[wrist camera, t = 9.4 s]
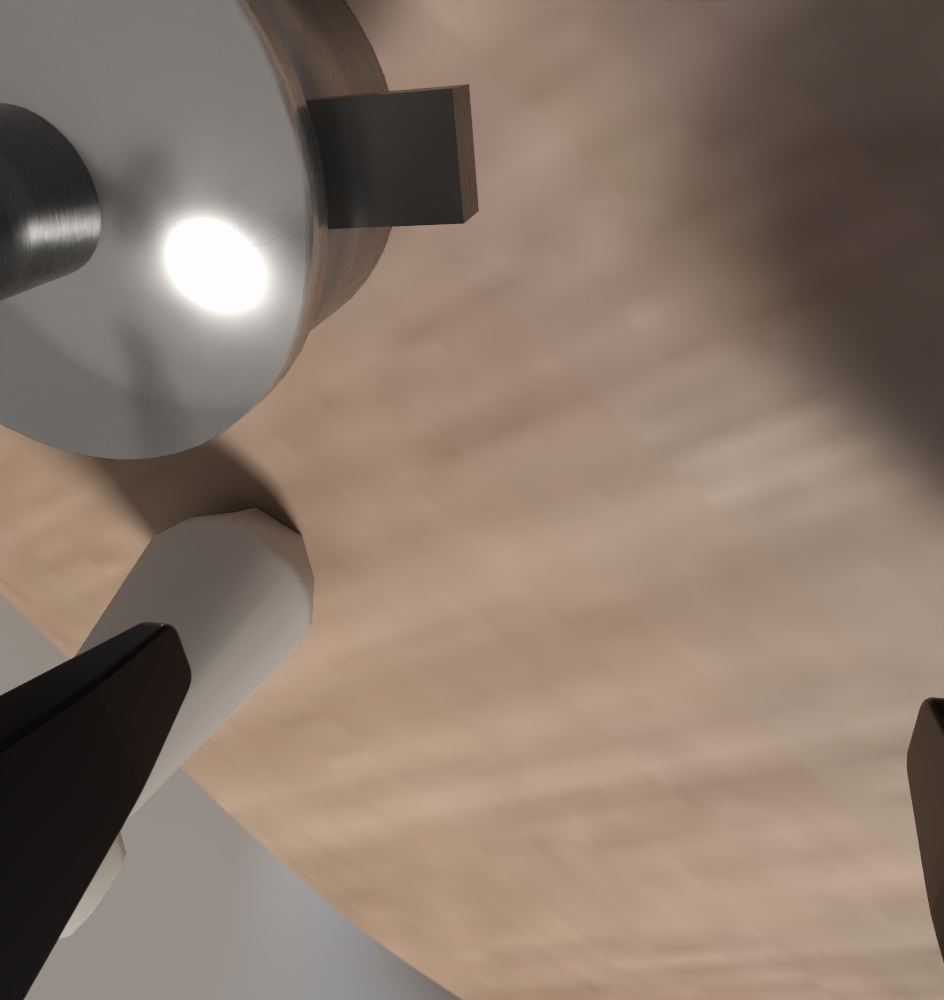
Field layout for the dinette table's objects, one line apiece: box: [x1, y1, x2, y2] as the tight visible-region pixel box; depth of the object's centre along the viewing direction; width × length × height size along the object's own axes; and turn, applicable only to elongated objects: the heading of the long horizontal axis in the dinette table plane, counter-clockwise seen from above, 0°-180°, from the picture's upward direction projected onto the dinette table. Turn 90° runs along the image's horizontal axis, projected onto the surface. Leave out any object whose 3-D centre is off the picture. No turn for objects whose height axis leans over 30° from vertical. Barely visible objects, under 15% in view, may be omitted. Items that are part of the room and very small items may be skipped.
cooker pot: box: [258, 0, 479, 331], centre depth 17 cm, size 16×10×6 cm, turn 95°
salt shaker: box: [59, 507, 314, 939], centre depth 22 cm, size 6×6×13 cm
